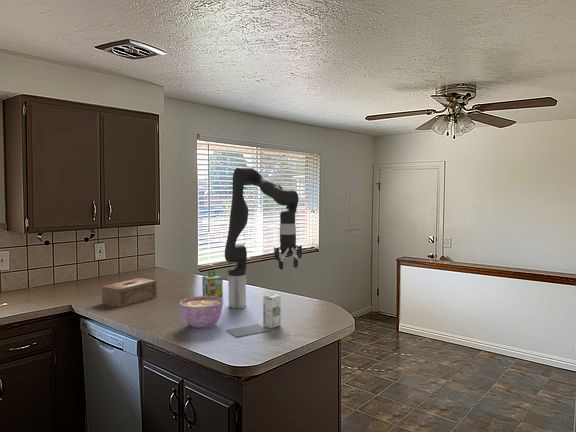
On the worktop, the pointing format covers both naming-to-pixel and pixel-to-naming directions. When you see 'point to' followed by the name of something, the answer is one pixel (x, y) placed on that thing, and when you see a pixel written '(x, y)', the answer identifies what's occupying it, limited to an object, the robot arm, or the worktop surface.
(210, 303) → the bowl of food
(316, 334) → the worktop surface
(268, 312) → the syrup box
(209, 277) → the green juice carton
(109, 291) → the tissue box cover
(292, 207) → the robot arm
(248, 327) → the mat
